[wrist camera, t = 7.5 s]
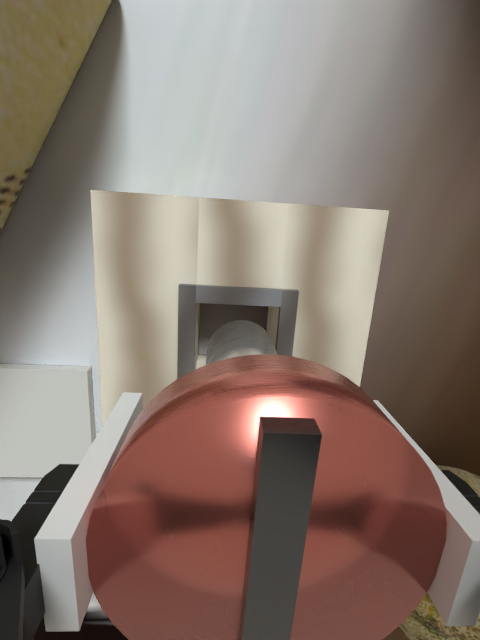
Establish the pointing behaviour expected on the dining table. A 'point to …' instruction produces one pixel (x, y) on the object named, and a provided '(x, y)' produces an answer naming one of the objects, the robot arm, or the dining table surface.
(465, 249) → the dining table surface
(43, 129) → the clutch purse
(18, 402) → the rubber mat
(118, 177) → the dining table surface
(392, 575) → the screw pin
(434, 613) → the cantaloupe
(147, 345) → the block
